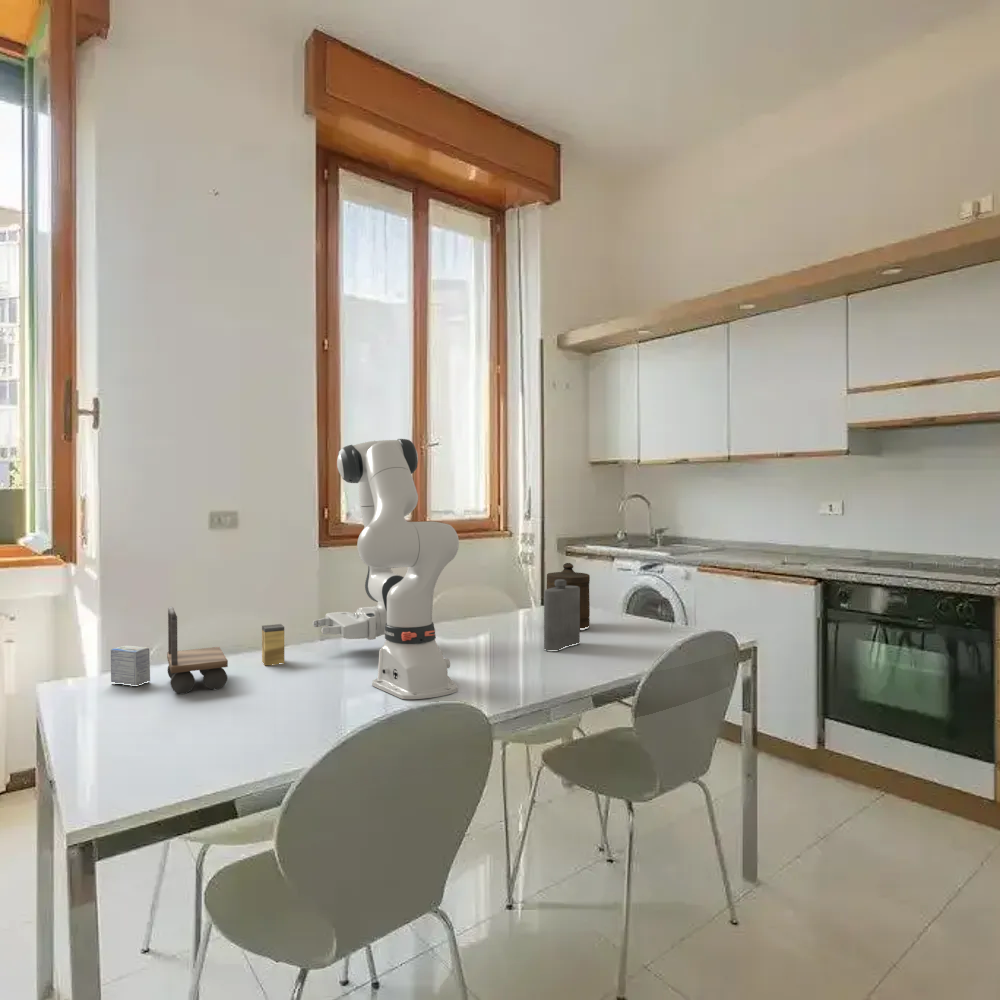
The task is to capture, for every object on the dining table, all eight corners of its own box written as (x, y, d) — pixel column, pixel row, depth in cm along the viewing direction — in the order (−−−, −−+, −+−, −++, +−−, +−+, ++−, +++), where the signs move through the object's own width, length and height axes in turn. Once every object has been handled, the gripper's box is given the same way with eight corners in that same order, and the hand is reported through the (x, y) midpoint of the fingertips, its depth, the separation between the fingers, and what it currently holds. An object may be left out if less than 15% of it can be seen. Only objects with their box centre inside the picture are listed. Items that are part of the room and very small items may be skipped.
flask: (566, 641, 214) (566, 576, 213) (582, 644, 210) (582, 578, 210) (538, 650, 202) (538, 581, 202) (554, 653, 198) (554, 583, 198)
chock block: (284, 663, 186) (284, 626, 186) (265, 666, 183) (264, 628, 183) (281, 660, 190) (280, 623, 190) (262, 662, 187) (261, 625, 187)
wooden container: (596, 626, 237) (596, 562, 237) (577, 634, 225) (578, 566, 224) (558, 621, 245) (558, 559, 245) (537, 629, 233) (537, 563, 232)
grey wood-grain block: (150, 682, 168) (150, 647, 168) (135, 687, 163) (135, 651, 163) (125, 679, 170) (125, 644, 170) (110, 684, 166) (109, 648, 166)
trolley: (227, 689, 162) (227, 612, 162) (171, 696, 157) (170, 616, 156) (219, 673, 176) (219, 602, 176) (167, 679, 171) (166, 606, 170)
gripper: (354, 605, 208) (308, 609, 202) (377, 618, 190) (326, 622, 184) (354, 626, 209) (308, 630, 202) (376, 640, 191) (326, 646, 184)
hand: (317, 627), depth 193 cm, fingers open, 8 cm apart
